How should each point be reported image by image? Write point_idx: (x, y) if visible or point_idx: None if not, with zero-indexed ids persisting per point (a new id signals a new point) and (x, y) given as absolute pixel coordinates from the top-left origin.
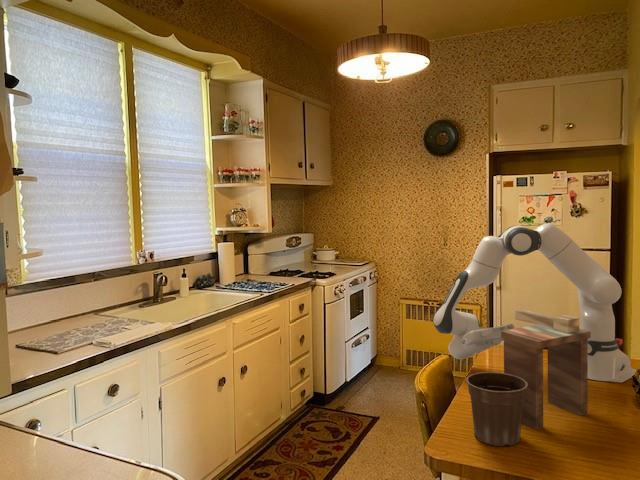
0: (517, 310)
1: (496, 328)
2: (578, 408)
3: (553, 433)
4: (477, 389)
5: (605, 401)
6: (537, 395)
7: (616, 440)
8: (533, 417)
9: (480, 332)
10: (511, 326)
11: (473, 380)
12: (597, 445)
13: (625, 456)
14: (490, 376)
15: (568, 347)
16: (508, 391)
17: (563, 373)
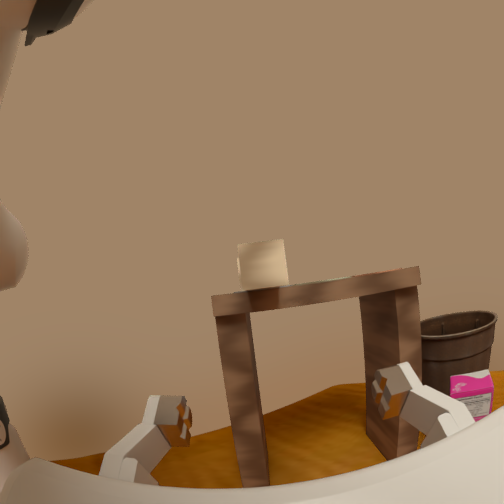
0: (271, 241)
1: (237, 498)
2: (266, 445)
3: (362, 423)
4: (480, 315)
5: (159, 466)
6: None
7: (292, 413)
8: None
9: (469, 425)
10: (185, 404)
11: (488, 333)
12: (326, 408)
13: (316, 397)
14: (459, 340)
15: (251, 337)
16: (442, 315)
17: (259, 405)
